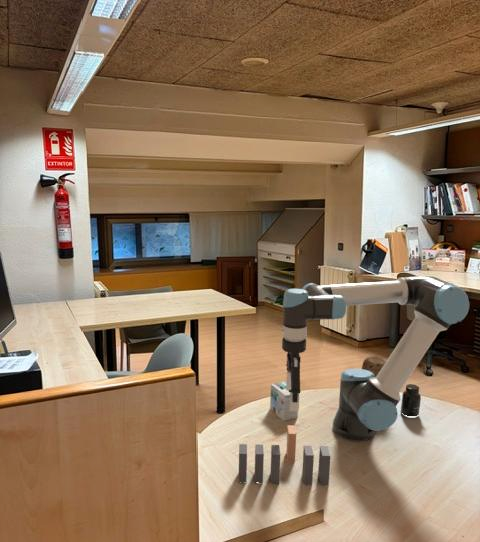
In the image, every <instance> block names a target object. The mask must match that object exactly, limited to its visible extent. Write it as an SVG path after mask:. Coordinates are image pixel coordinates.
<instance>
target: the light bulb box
mask: <svg viewBox="0 0 480 542" xmlns="http://www.w3.org/2000/svg"><path fill="white" fill-rule="evenodd" d="M269 409H270V410H271V411H272V412H273V413H274V414H275V413H276V414H275V415H276V416H278V418H280V419H281V420H282V421H283V422H285V421H289V420H292V419H297V418H298V413H299V411H290V392H289V391H287V390H286V381H280V382H275V383H272V384H270V402H269Z"/></svg>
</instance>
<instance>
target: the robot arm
mask: <svg viewBox="0 0 480 542" xmlns="http://www.w3.org/2000/svg"><path fill="white" fill-rule="evenodd" d="M390 303H391V304H394V303H398V304H399V305H400V306H406V305H407V306H408V305H409V306H414V307H415V308H414V310H413V311H414V312H413V313H414V318H413V320H412V321H411V323H410V325H409V326H408V327H407V329H406V331H405V332H404V333H403V336H402V337H401V338H400V340H399V341H398V343H397V344H396V346H395V348H394V349H393V351H392V352H391V354H390V355H389V357H388V358H387V359H386V360H385V362H386V363H385V364H384V366H383V367H382V369H381V370H380V372H379V373H378V375H377V376H376V377H374V374H373V373H372V372H370V371H368V370H364V369H362V368H348V369H344V370H343V371H342V372H341V373H340V374H341V376H340V379H339V381H340V386H339V399H338V400H339V401H338V402H339V403H338V409H337V412H336V414H335V416H334V418H333V420H332V430H333V431H334V432H335V434H337V435H338V436H340V437H341V438H344V439H346V440H350V441H356V442H357V441H358V442H361V441H362V442H363V441H367V440H370V439H372V438H373V437H374V436H375V432H376V431H377V432H378V431H382V430H383V431H384V430H387V429H389V428H390V427H392V426H393V425H394V424H395V422H396V421H397V420H398V419H397V418H398V414H399V413H398V409H397V406H398V404H399V403H400V401H401V395H400V392H401V390H402V389H403V388H404V386H405V385H406V383H407V381H408V380H409V379H410V377H411V375H412V374H413V372H414V371H415V369H416V368H417V366H418V365H419V363H420V362H421V361H422V358H423V357H424V356H425V355H426V353H427V351H428V350H429V348H430V347H431V345H432V344H433V342H434V341H435V340H436V338H437V336H438V335H439V333H440V332H443V331H447V330H448V329H449V328H450V326H451V325H452V324H453V325H454V324H457V323H458V322H459V323H460V322H462V321H463V320H464V319H465V318H466V316H467V315H468V313H469V310H470V301H469V297H468V294H467V293H466V292H465V290H464V289H462V288H461V287H459V286H458V285H456V284H454V283H451V282H448V281H445V280H442V279H440V278H438V277H435V276H429V275H422V276H419V275H418V276H408V277H407V276H406V277H397V279H396V280H388V281H375V282H359V283H358V282H357V283H341V284H338V283H337V284H328V285H327V284H325V285H324V284H323V285H318V283H313V282H310V283H307V284H304V286H303V287H302V288H289V289H287V290H285V291H284V293H283V301H282V306H283V307H282V310H283V311H282V312H283V313H282V327H280V330H281V331H282V341H281V349H282V350H283V351H284V352H285V353H287V354H286V381H285V382H286V390H287V391H289V392H290V411H298V412H299V410H300V394H301V355H300V353H301V354H302V353H304V352H305V351H306V350H307V339H306V338H307V336H308V335H307V332H308V321H310V320H311V321H312V320H313V321H314V320H319V321H320V320H339V319H343V318H344V317H345V315H346V314H347V313H346V312H347V307H348V306H361V305H375V304H376V305H377V304H390Z"/></svg>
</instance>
